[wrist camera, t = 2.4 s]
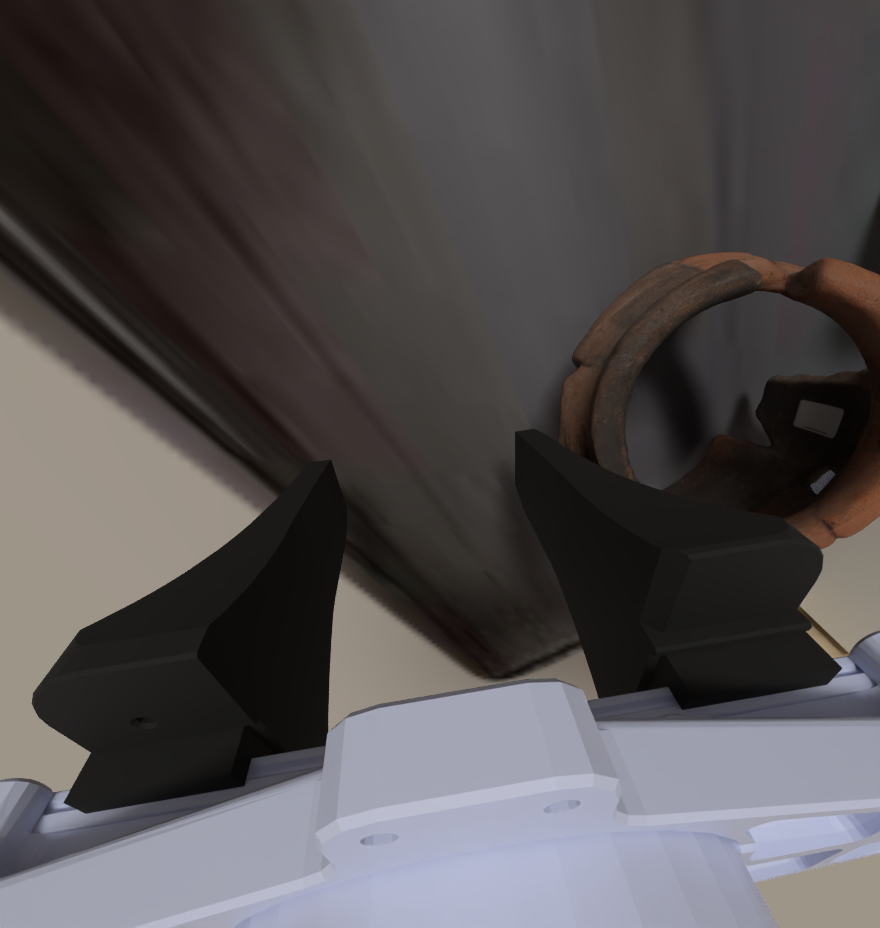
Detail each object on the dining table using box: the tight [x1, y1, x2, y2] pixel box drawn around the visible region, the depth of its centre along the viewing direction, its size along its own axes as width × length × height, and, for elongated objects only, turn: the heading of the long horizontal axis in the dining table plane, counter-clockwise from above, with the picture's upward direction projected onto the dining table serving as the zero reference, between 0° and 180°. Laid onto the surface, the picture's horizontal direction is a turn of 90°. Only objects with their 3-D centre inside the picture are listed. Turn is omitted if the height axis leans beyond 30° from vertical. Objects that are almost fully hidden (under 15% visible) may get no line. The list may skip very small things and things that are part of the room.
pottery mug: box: [558, 252, 880, 549], centre depth 12 cm, size 12×9×8 cm
